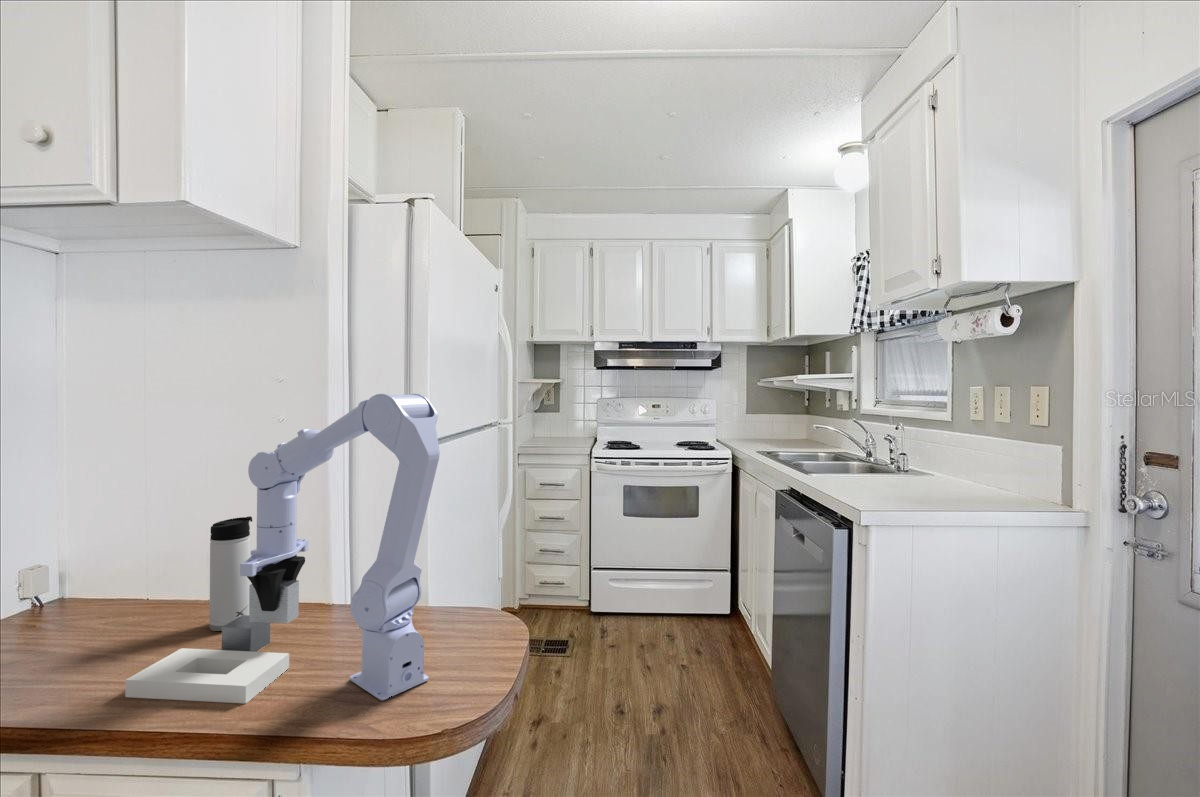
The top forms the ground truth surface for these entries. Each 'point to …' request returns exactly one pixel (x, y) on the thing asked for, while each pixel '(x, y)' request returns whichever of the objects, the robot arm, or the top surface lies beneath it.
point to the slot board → (208, 675)
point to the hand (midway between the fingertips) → (276, 606)
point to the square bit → (245, 635)
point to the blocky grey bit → (285, 607)
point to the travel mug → (228, 571)
